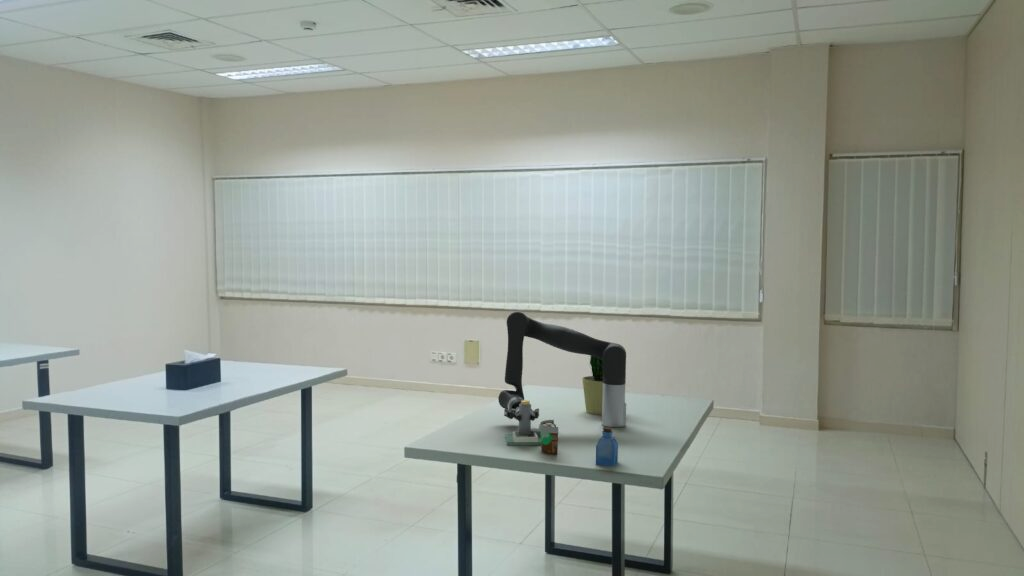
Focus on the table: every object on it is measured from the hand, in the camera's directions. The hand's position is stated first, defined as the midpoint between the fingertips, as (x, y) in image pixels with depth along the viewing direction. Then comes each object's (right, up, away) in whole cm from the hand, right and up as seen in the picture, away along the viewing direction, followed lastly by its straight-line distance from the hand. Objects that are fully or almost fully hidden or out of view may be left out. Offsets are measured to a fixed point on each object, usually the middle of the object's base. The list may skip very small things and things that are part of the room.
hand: (526, 418), depth 269 cm
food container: (+7, -10, -8) cm, 15 cm away
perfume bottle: (+27, -11, -22) cm, 36 cm away
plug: (-1, -6, +3) cm, 7 cm away
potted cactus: (+33, -8, +58) cm, 67 cm away
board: (-1, -9, +5) cm, 11 cm away
